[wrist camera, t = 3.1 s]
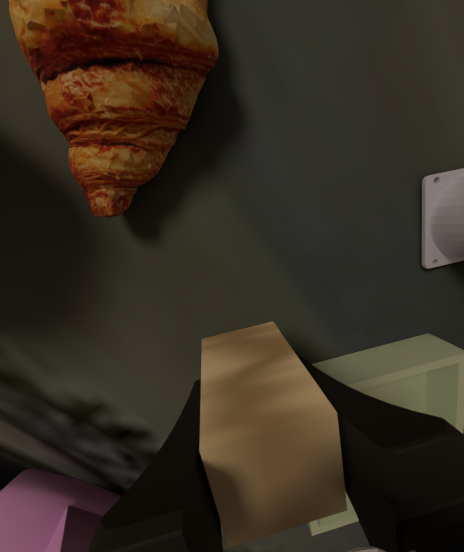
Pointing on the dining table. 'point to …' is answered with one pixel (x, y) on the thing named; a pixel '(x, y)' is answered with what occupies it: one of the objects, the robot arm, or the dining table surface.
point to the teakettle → (51, 512)
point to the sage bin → (401, 387)
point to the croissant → (117, 83)
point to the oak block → (266, 436)
